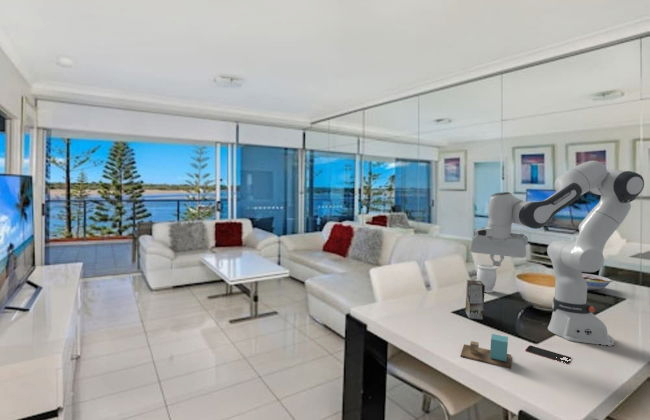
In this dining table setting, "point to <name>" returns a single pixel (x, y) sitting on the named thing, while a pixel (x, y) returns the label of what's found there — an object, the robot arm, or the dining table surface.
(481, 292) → the coffee box
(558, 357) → the smartphone
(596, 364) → the dining table surface
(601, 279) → the ramen bowl
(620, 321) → the dining table surface
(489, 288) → the jar
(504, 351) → the teal block
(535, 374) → the dining table surface
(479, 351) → the board
